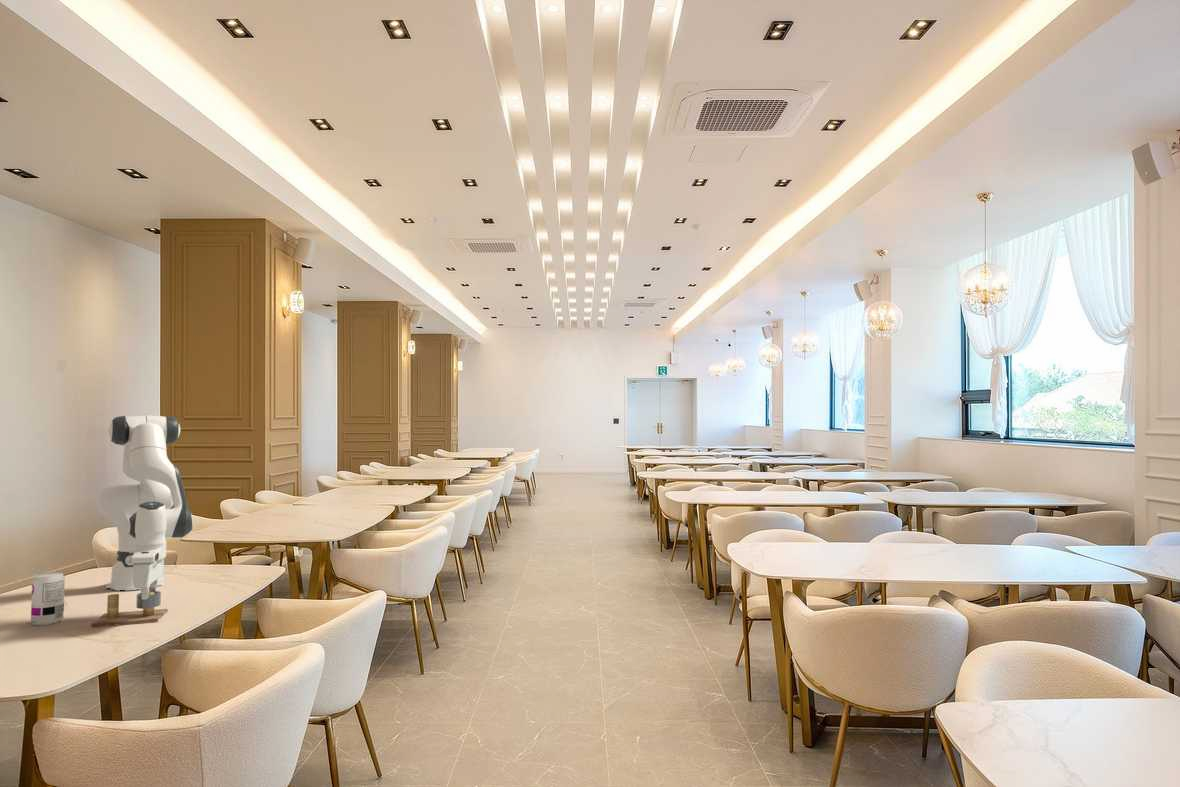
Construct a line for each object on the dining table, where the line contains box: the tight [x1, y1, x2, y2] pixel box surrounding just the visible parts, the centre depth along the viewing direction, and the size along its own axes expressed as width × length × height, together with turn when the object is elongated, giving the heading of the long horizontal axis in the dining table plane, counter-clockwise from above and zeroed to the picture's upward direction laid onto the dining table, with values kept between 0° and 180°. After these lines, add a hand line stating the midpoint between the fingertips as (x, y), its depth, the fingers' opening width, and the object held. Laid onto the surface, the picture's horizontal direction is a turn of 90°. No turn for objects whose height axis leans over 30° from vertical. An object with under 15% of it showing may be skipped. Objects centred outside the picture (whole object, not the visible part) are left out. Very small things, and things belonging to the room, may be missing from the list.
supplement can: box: [30, 571, 66, 626], centre depth 222 cm, size 8×8×15 cm
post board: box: [90, 592, 168, 628], centre depth 226 cm, size 12×18×8 cm, turn 108°
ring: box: [136, 590, 162, 610], centre depth 227 cm, size 6×6×4 cm
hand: (149, 595), depth 227 cm, fingers open, 7 cm apart
